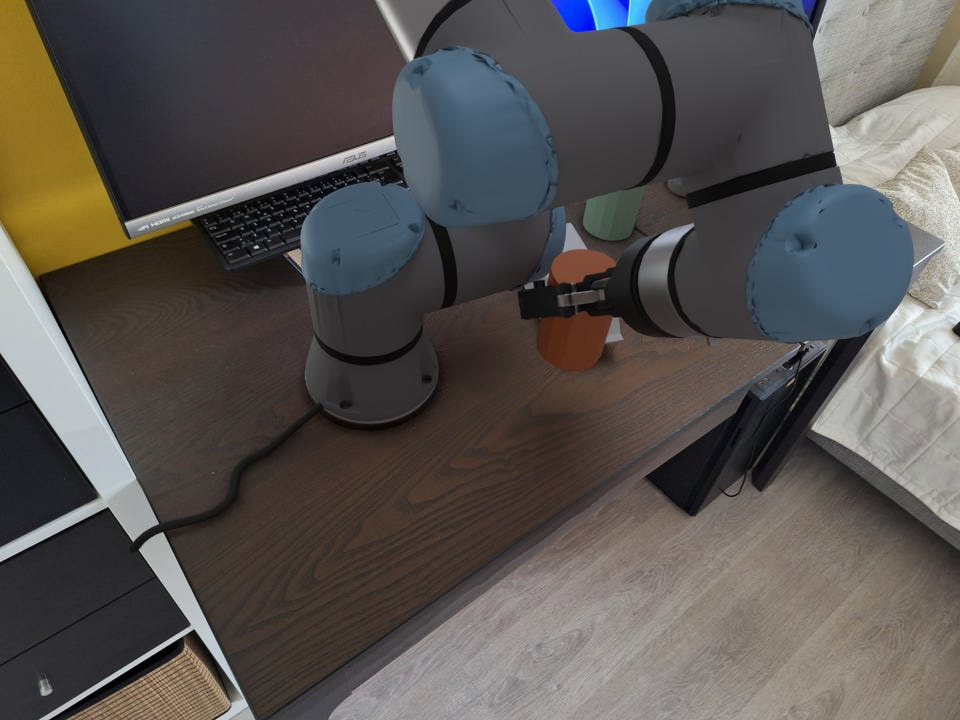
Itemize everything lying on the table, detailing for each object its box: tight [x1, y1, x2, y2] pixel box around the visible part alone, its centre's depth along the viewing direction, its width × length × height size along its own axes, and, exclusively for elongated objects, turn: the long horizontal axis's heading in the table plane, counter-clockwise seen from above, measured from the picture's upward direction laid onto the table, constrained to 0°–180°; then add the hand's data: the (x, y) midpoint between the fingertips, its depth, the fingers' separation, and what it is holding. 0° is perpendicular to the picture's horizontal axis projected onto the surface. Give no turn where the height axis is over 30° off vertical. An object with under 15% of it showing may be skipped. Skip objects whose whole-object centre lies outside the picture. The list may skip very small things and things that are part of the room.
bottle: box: [582, 185, 647, 242], centre depth 96 cm, size 8×8×16 cm
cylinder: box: [536, 248, 617, 372], centre depth 65 cm, size 7×7×10 cm
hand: (562, 297), depth 68 cm, fingers closed on cylinder, 7 cm apart
